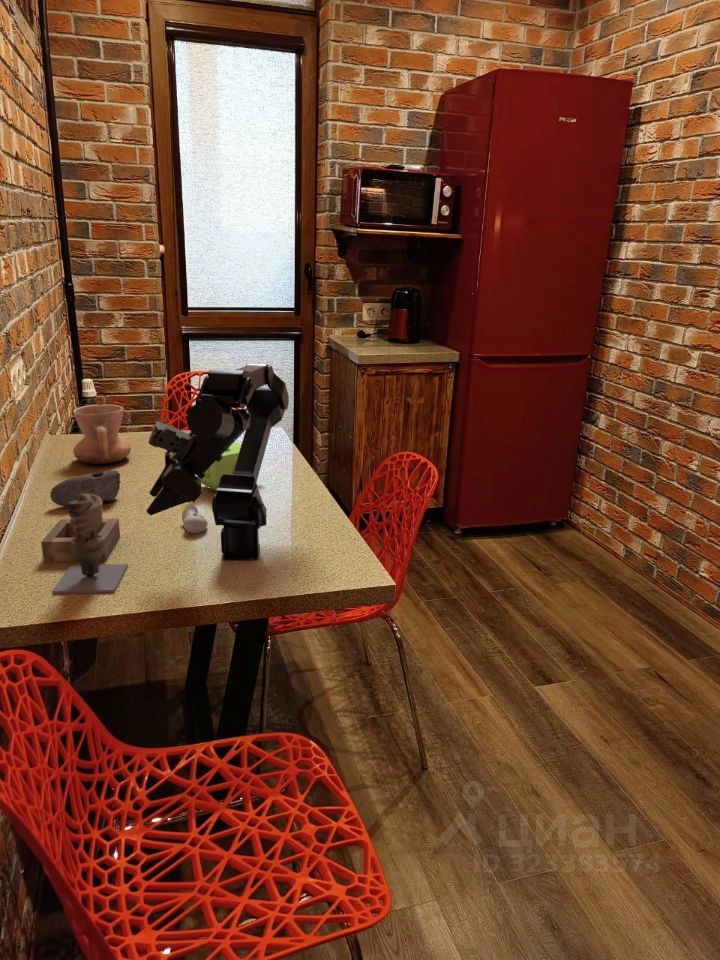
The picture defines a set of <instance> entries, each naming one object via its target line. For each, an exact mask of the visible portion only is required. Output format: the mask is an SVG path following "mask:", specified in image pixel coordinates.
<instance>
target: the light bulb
mask: <svg viewBox="0 0 720 960" xmlns="http://www.w3.org/2000/svg"><path fill="white" fill-rule="evenodd" d="M78 498H79V500H75V501H70V502H68V503H67V506H66V508H67V509H68V512H67V514H68V516H69V517H70V518H69V519H70V524H72V525H74V528H73V531H74V532H75V533H76V537H74V538H73V539H72V540H71V547H72V553H73V556H74V557H75V558H76V559H77V560H78V561H79V562H78V563H79V564H80V565H81V570H82V574H83V575H86V576H87V577H92V576H94V574H95V573H98V572H99V565H100V561H99V560H100V558H101V556H102V555H103V553H104V537H103V536H102V535H101V534H98V528H99V525H100V524H101V523H102V521H103V519H104V517H103V512H104V509H103V503H104V502H102V500H101V498H100V497H99V496H97V495H94V494H86V493H85V494H80V495H79V497H78Z"/></svg>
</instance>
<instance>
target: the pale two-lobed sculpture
mask: <svg viewBox="0 0 720 960" xmlns="http://www.w3.org/2000/svg"><path fill="white" fill-rule="evenodd" d="M181 520H182V524H183V526H184V529H185V530H186V531H188V532H189V533H191V534H199V533H202V532H205V530H206V529H207V526H208V525H209V524H208V521H207V519H206V518H205V516H204V515H202V514H200V513H199V510H198V508H197V507H196V506H195V505H193V504H192V505H188V506H186V507H185V508H184V510H183V512H182V514H181Z"/></svg>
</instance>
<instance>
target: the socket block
mask: <svg viewBox="0 0 720 960" xmlns="http://www.w3.org/2000/svg"><path fill="white" fill-rule="evenodd" d="M70 519H71V518H62V519H59V520H58V522H57V523H56V524H55V525H54V526H53V527H52V528H51V530H50V531H49V532H48V533H47V534H46V536H44V538H43V539H42V540H41V541H40V544H41V550H42V551H41V552H42V558H43V563H63V562H64V563H66V562H67V563H72V562H73V563H74V562H77V563H80V562H79V561H78V560H77V559H76V558H75V557H74V556H73V553H72V547H71V540H72V539H73V538H74V537H76V533H75V532H74V531H73V528H74V525H72V524H70ZM119 519H120V518H103V521H102V523H101V524H100V525H99V528H98V534H101V535H102V536H103V537H104V553H103V555H102V556H101V558H100V560H99V562H107V560H108V558H109V557H110V555H111V553H112V552H113V550H114V548H115V547H116V545H117V544H118V542H119V540H120V539H121V532H120V530H121V529H120V521H119Z"/></svg>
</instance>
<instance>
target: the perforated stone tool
mask: <svg viewBox="0 0 720 960" xmlns="http://www.w3.org/2000/svg"><path fill="white" fill-rule="evenodd" d="M120 484H121V473H120V472H118V471H117V470H110V471H99V472H91V473H86V474H82V475H78V476H77V475H76V476H75V477H71V478H68V479H65V480H62V481H61V482H59V483H56V484H55V485H54V486H53V487H52V488H51V489H50V490H51V491H50V495H49V496H50V501H52V502H53V503H54V504H56V505H57V506H62V507H67V503H68V502H70V501H75V500H79V498H78V497H79V495H80V494H85V493H86V494H94V495H97V496H99V497H100V498H101V500H102V502H103V503H104V502H107V503H108V502H113V501H115V499H116V497H117V495H118V494H119V491H120Z"/></svg>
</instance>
